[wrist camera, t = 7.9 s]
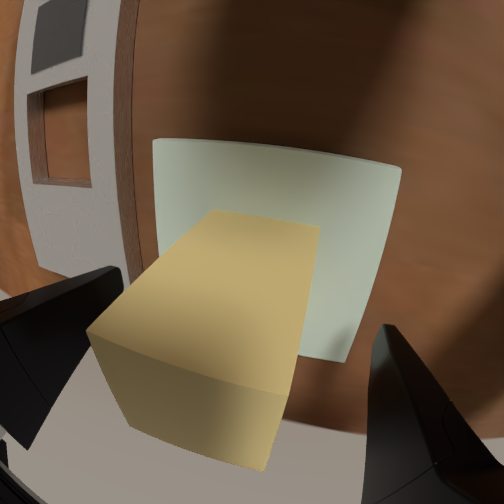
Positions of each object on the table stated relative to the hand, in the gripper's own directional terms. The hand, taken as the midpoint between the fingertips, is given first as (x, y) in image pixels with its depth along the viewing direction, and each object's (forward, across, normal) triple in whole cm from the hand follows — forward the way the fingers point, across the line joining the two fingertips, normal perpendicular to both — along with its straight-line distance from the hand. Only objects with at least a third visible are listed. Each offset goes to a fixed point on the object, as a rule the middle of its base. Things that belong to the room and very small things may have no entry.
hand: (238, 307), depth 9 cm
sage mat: (+3, 0, 0) cm, 3 cm away
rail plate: (+3, +10, -7) cm, 13 cm away
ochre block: (+3, 0, 0) cm, 3 cm away
